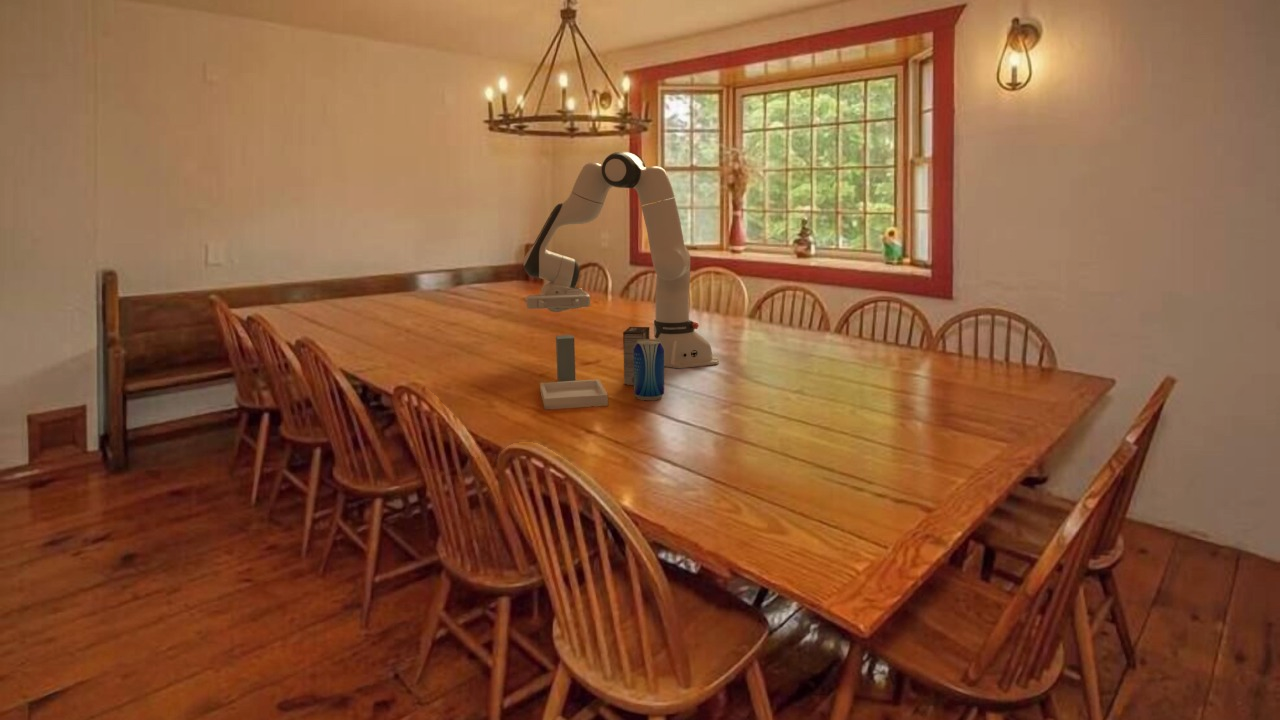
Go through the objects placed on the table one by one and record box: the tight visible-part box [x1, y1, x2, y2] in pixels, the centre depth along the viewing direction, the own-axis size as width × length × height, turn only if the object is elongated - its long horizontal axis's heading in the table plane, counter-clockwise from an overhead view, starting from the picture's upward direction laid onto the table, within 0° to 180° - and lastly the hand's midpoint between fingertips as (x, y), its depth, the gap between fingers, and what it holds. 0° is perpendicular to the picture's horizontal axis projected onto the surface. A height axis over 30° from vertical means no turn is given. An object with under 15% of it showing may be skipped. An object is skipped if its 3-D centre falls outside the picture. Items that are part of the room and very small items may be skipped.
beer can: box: [633, 338, 665, 401], centre depth 218 cm, size 8×8×16 cm
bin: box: [539, 378, 609, 411], centre depth 219 cm, size 17×17×3 cm
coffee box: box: [622, 326, 651, 386], centre depth 235 cm, size 9×6×16 cm
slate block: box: [555, 334, 576, 382], centre depth 236 cm, size 5×5×14 cm
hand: (560, 304), depth 244 cm, fingers open, 8 cm apart
